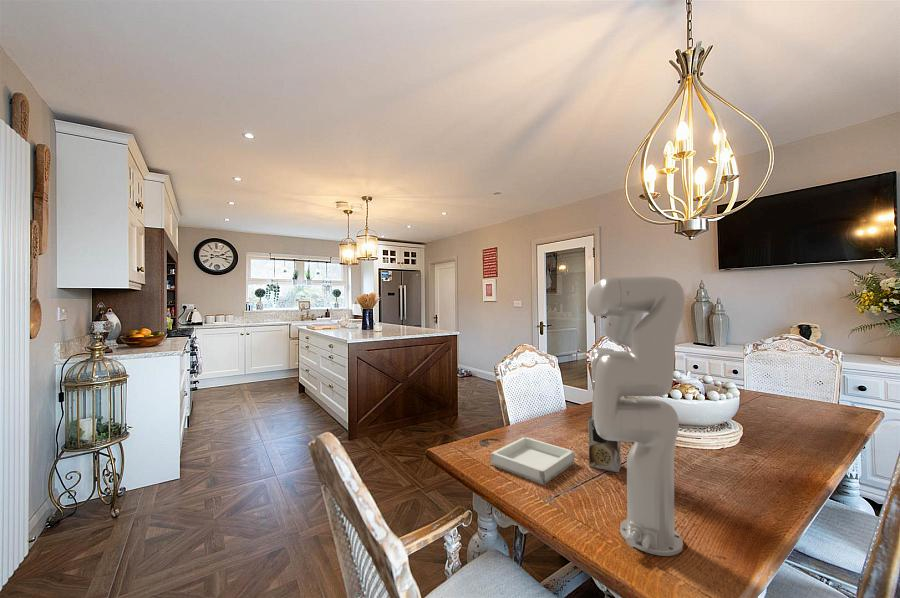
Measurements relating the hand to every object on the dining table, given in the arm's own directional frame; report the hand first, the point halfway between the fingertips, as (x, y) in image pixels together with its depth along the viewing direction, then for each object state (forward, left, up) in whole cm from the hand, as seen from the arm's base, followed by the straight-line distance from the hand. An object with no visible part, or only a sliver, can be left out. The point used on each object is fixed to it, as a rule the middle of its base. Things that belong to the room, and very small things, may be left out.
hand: (604, 437), depth 121 cm
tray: (-15, +18, -9) cm, 25 cm away
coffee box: (0, 0, -10) cm, 10 cm away
